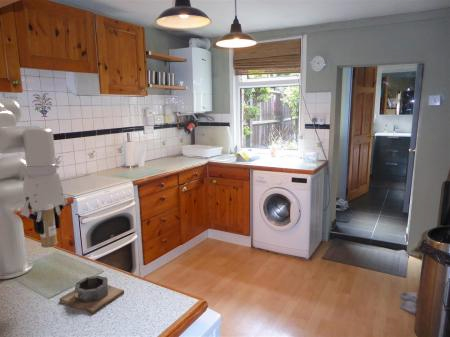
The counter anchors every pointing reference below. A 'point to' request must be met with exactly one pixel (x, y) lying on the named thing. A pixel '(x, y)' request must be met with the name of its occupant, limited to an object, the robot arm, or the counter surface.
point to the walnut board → (92, 306)
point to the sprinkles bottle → (48, 227)
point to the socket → (91, 289)
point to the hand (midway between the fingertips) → (47, 229)
